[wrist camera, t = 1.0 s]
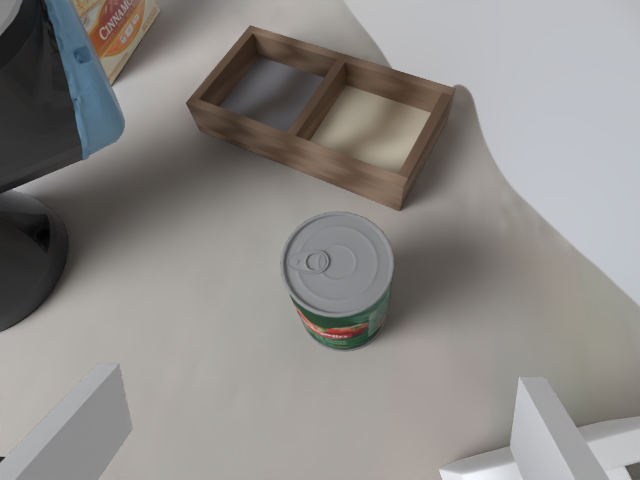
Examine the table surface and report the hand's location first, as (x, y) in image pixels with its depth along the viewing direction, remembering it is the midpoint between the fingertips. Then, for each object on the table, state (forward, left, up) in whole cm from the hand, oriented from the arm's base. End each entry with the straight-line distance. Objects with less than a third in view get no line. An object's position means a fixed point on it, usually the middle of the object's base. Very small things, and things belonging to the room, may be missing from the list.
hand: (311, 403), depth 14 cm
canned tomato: (-5, +9, -24) cm, 26 cm away
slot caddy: (-17, +27, -23) cm, 40 cm away
